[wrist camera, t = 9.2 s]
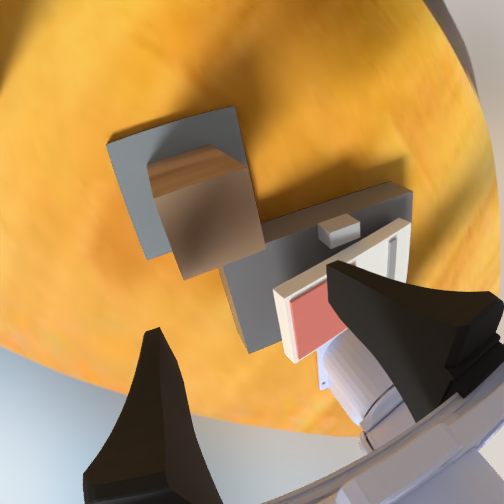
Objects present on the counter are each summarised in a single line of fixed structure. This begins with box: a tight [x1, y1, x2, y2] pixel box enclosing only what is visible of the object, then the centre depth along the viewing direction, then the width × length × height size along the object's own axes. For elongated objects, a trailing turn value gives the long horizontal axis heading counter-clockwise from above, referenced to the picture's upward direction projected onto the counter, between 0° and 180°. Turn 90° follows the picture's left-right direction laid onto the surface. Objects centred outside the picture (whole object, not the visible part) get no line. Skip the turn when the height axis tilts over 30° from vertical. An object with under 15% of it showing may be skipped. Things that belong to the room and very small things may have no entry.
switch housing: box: [218, 182, 413, 354], centre depth 24 cm, size 9×16×4 cm, turn 101°
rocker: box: [273, 218, 411, 364], centre depth 22 cm, size 6×12×1 cm, turn 101°
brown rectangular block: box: [146, 144, 266, 280], centre depth 16 cm, size 4×4×7 cm
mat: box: [106, 106, 248, 260], centre depth 20 cm, size 8×8×1 cm
